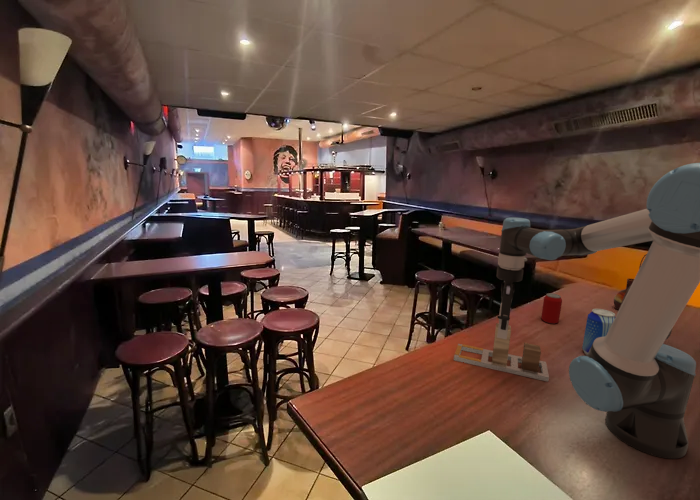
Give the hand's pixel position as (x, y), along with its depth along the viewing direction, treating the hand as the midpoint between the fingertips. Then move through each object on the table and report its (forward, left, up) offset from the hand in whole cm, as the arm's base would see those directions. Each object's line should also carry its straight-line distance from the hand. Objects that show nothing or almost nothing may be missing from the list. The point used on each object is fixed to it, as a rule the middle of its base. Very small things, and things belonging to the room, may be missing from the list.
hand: (502, 329), depth 112 cm
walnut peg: (0, -9, -12) cm, 15 cm away
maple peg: (0, 0, -12) cm, 12 cm away
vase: (+80, -54, -12) cm, 97 cm away
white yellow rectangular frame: (0, 0, -12) cm, 12 cm away
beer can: (+22, -31, -12) cm, 40 cm away
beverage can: (+48, -19, -12) cm, 53 cm away
